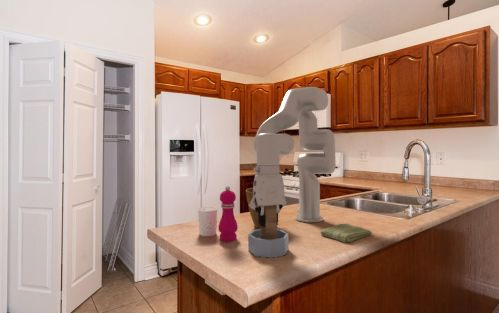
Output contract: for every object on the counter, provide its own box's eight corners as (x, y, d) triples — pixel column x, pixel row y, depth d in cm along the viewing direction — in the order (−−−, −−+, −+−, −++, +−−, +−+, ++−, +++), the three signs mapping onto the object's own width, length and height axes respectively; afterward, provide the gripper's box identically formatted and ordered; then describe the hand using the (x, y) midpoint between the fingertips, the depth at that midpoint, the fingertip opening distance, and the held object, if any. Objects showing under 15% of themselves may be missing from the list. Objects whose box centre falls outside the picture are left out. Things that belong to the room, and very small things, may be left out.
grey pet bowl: (244, 247, 98) (243, 231, 97) (275, 242, 103) (275, 227, 103) (260, 260, 86) (260, 242, 86) (294, 253, 91) (294, 236, 91)
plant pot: (240, 224, 127) (240, 188, 127) (268, 220, 134) (268, 186, 134) (256, 232, 114) (255, 193, 114) (286, 227, 121) (286, 190, 120)
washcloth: (374, 235, 111) (374, 227, 110) (346, 245, 100) (346, 236, 100) (345, 228, 121) (345, 220, 121) (317, 236, 111) (317, 228, 111)
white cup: (198, 237, 109) (198, 211, 108) (196, 231, 116) (196, 207, 116) (219, 235, 111) (218, 210, 110) (216, 230, 118) (215, 206, 118)
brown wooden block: (260, 242, 95) (260, 198, 95) (270, 240, 97) (270, 197, 97) (266, 246, 92) (265, 200, 91) (276, 244, 93) (276, 199, 93)
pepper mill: (227, 235, 112) (227, 184, 111) (241, 238, 107) (241, 186, 106) (214, 239, 106) (213, 186, 105) (228, 243, 101) (227, 188, 101)
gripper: (250, 172, 87) (250, 231, 87) (295, 170, 94) (295, 225, 94) (240, 170, 94) (241, 225, 94) (283, 168, 101) (283, 220, 101)
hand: (268, 224), depth 94 cm, fingers closed on brown wooden block, 4 cm apart
